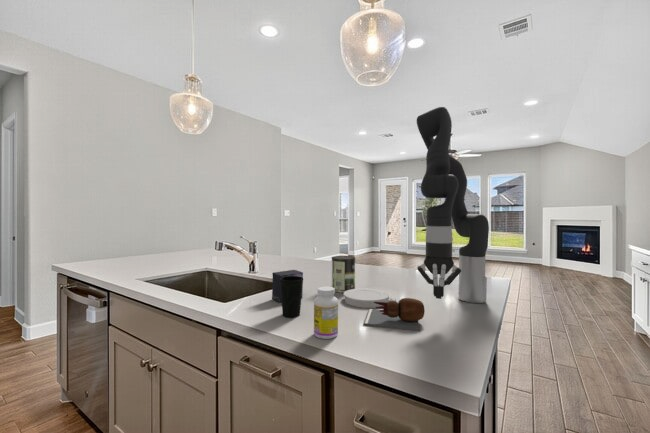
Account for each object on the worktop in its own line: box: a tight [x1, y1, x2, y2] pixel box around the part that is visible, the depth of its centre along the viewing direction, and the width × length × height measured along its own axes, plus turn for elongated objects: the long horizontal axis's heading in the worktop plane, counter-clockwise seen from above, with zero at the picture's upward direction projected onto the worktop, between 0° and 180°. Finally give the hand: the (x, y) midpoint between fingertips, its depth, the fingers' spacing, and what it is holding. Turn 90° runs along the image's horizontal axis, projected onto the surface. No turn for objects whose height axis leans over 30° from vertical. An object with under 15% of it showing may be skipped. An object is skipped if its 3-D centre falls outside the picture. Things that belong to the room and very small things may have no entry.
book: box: [362, 308, 420, 332], centre depth 97 cm, size 16×14×1 cm
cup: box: [280, 276, 304, 319], centre depth 101 cm, size 8×8×12 cm
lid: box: [343, 287, 397, 309], centre depth 118 cm, size 17×20×3 cm
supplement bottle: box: [313, 286, 339, 340], centre depth 85 cm, size 7×7×13 cm
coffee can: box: [331, 255, 356, 293], centre depth 134 cm, size 10×10×14 cm
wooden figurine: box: [374, 297, 426, 322], centre depth 95 cm, size 7×6×15 cm
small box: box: [271, 269, 304, 304], centre depth 120 cm, size 11×6×10 cm, turn 131°
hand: (438, 297), depth 94 cm, fingers closed
